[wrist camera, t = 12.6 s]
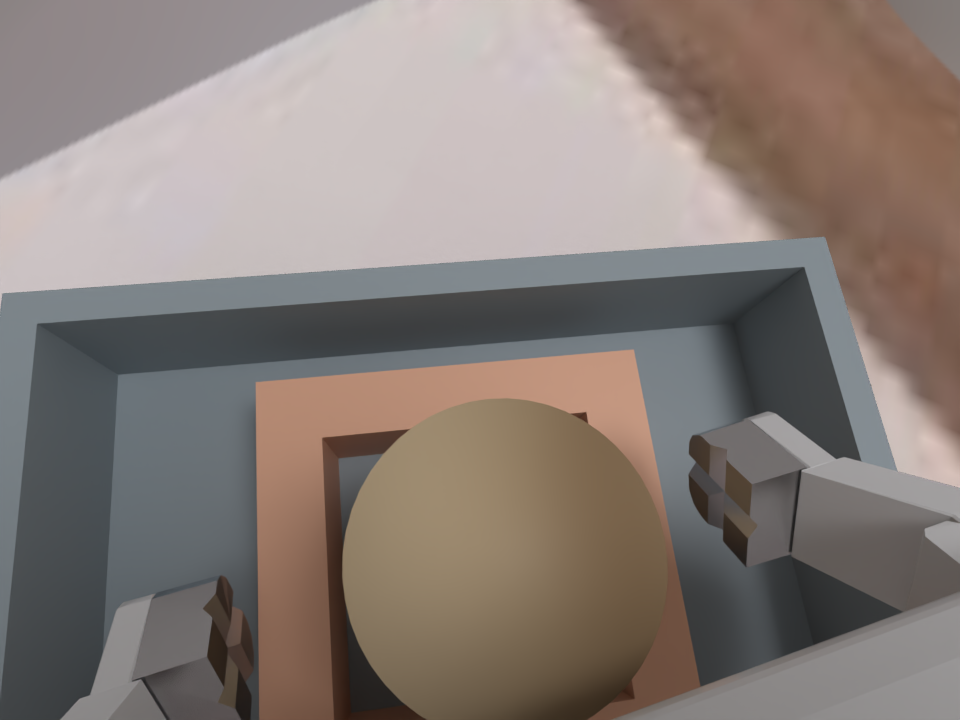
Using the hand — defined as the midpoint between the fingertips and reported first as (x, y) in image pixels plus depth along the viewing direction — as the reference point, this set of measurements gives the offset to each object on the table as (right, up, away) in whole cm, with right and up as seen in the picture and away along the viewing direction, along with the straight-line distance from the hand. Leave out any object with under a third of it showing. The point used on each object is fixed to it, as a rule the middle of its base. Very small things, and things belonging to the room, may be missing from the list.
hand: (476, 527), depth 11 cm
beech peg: (0, -3, +6) cm, 7 cm away
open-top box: (0, -3, +7) cm, 8 cm away
